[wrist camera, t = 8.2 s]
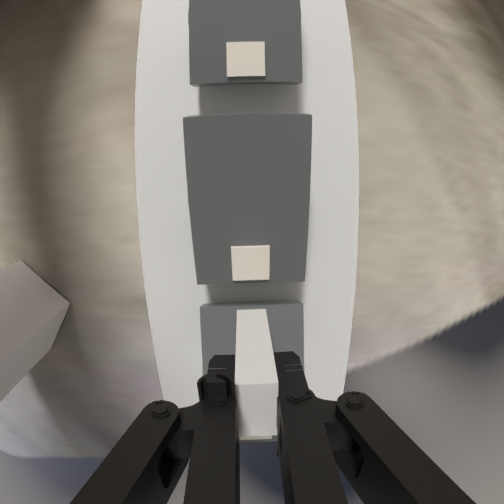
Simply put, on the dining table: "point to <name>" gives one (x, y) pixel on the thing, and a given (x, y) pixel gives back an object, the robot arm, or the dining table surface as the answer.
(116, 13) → the dining table surface
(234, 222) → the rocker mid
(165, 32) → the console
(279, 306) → the rocker
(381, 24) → the dining table surface
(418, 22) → the dining table surface
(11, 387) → the milk carton
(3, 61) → the dining table surface
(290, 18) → the plate
